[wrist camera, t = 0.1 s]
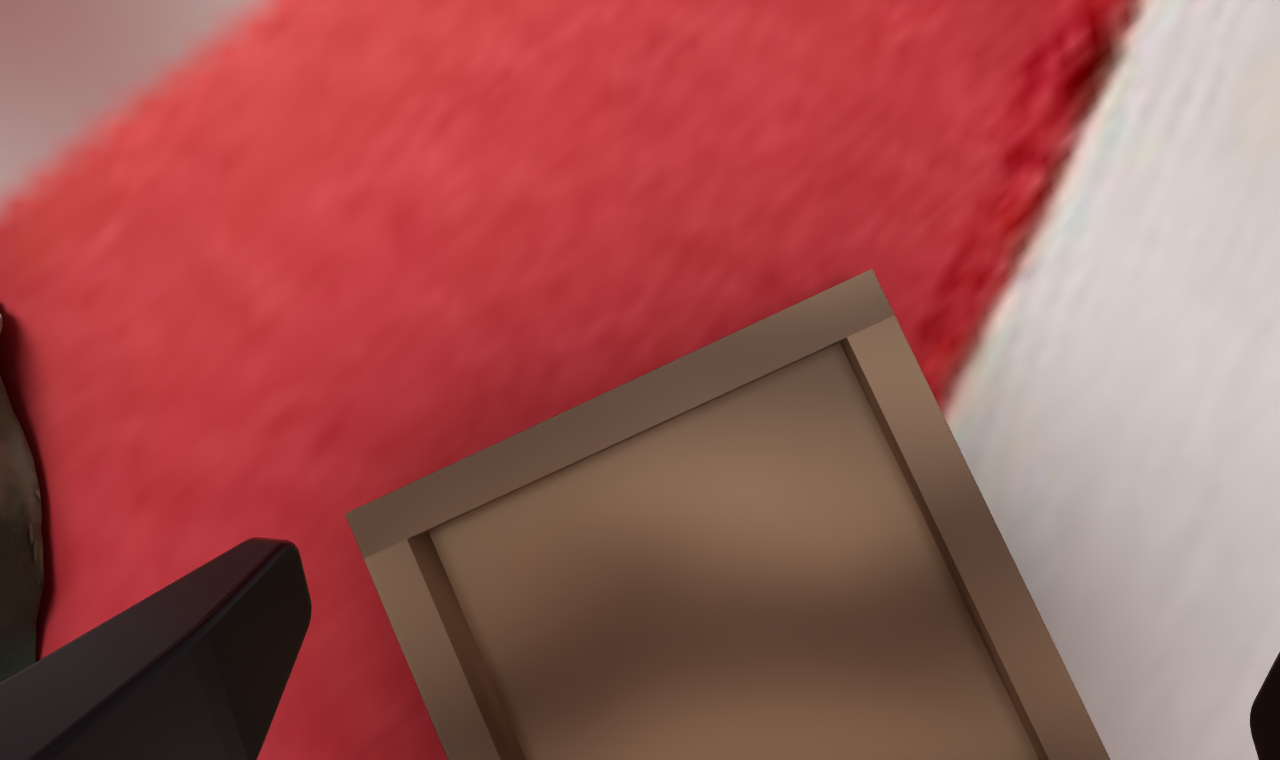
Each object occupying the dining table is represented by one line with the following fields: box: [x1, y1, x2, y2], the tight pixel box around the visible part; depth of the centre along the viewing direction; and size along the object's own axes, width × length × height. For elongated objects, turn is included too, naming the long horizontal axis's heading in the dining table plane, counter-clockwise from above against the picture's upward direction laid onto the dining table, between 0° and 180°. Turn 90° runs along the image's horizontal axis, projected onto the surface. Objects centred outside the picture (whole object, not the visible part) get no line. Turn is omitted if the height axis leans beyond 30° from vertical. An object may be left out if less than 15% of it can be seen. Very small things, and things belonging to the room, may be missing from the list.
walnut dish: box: [345, 269, 1110, 760], centre depth 22 cm, size 14×14×2 cm
